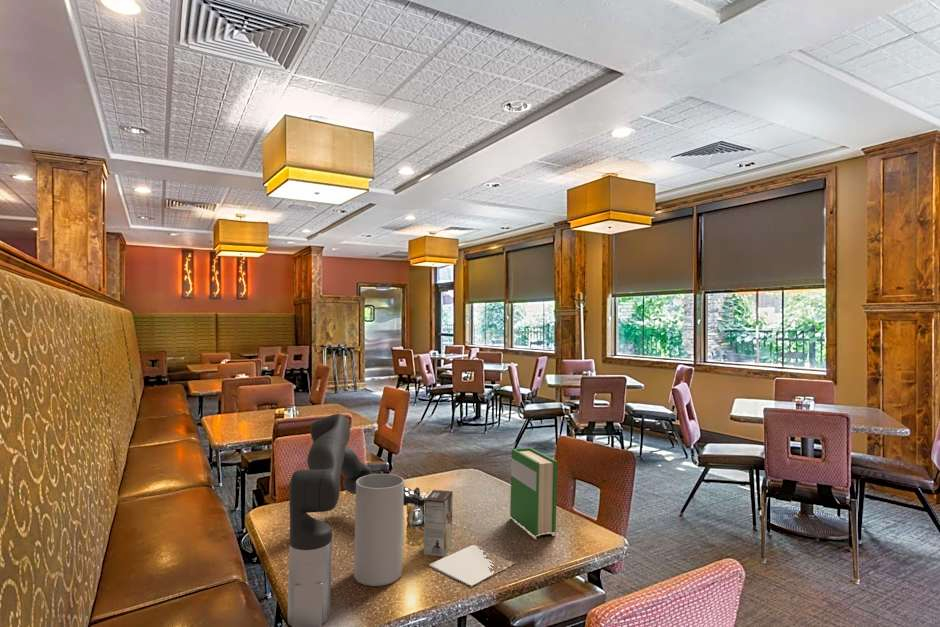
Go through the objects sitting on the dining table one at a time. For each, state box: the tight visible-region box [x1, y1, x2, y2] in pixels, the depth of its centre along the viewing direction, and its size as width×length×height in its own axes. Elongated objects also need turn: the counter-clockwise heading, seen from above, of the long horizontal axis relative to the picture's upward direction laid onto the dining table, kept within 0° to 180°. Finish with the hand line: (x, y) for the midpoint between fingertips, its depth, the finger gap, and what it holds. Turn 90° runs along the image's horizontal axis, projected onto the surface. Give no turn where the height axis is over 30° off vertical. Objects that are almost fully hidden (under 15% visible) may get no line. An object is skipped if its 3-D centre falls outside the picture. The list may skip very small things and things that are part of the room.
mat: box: [428, 544, 500, 586], centre depth 145 cm, size 16×18×1 cm
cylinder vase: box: [353, 473, 405, 587], centre depth 138 cm, size 12×12×25 cm
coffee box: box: [423, 489, 454, 557], centre depth 155 cm, size 9×6×16 cm
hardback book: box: [509, 447, 558, 536], centre depth 172 cm, size 18×7×24 cm, turn 22°
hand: (422, 502), depth 159 cm, fingers closed
